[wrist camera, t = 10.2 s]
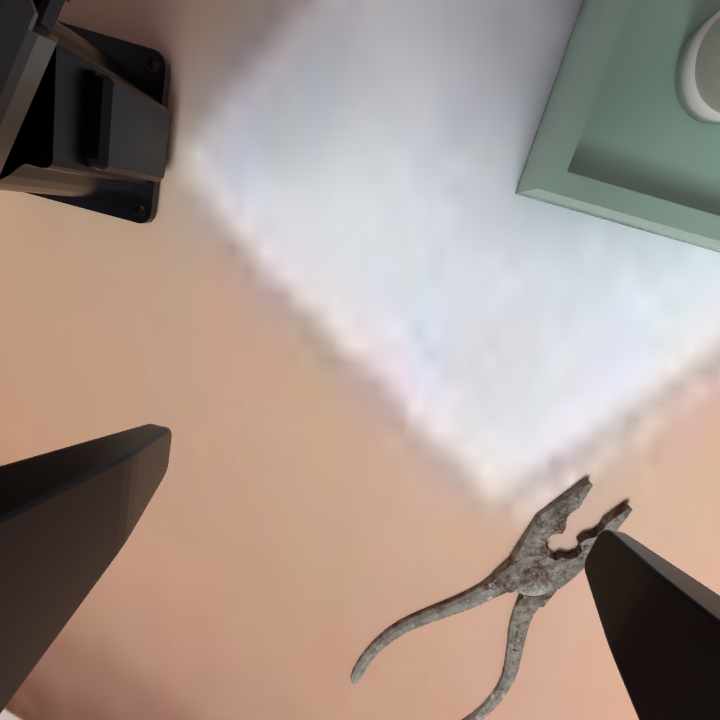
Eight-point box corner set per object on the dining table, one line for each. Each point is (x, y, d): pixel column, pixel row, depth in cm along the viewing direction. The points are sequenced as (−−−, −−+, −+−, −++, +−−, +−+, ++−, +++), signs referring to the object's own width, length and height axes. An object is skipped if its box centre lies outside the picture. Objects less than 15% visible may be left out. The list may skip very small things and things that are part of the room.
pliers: (340, 702, 27) (469, 443, 21) (341, 688, 28) (465, 435, 22) (478, 740, 28) (641, 501, 22) (475, 726, 28) (631, 491, 22)
